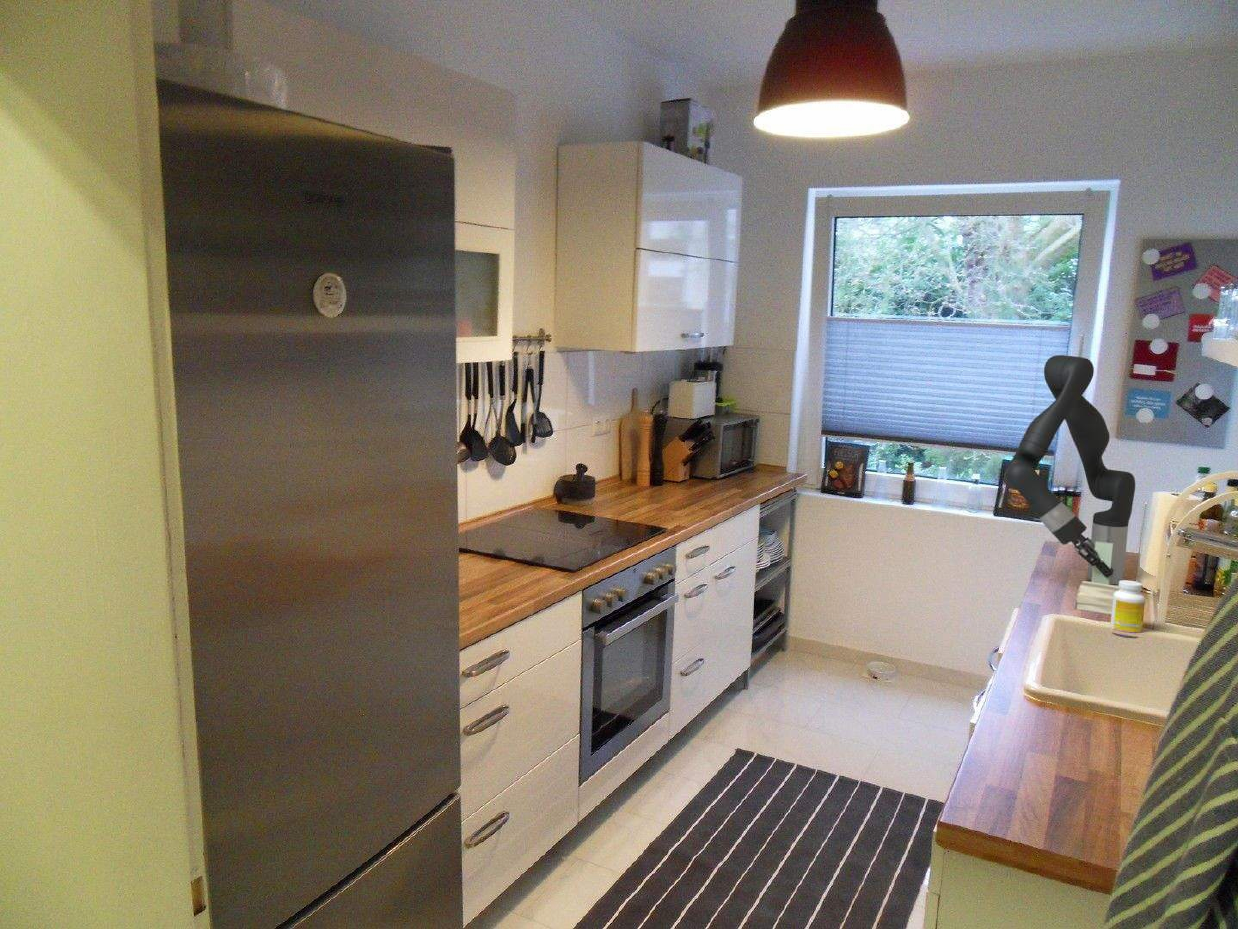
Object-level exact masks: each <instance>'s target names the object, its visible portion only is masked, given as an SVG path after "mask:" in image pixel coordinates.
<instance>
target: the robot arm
mask: <svg viewBox="0 0 1238 929" xmlns="http://www.w3.org/2000/svg"><path fill="white" fill-rule="evenodd" d="M1094 372H1095V368H1094V364H1093V362H1092V361H1091V360H1090V359H1089V358H1086V357H1082V356H1081V357H1080V356H1073V355H1065V354H1061V355H1058V354H1057V355H1053V356H1051V357H1049V358H1048V359H1047V360H1046V362H1045V365H1044V369H1043V376H1044V380H1045V383H1046V385H1047V386H1048V389H1049V390H1050V392H1051V394H1052V396H1053V397H1054V399H1055V400H1054V401H1053V402H1052V403H1051V404H1050V405H1049V406H1048V407H1047V408H1045V409H1044V410H1043V411H1042V412H1041V413H1040V414H1038V415H1037V416H1036V417H1034V419H1033V420H1032V421H1031V422H1030V423H1029V425H1028V427H1027V428H1026V429H1025V430H1026V431H1025V432H1024V435H1023V436H1022V438H1021V440H1020V442H1019V445H1018V448H1017V450H1016V452H1015V454H1014V455H1013V457H1012V459H1011V460H1010V462H1009V463H1008V465H1007V468H1006V469H1005V471H1004V475H1003V480H1004V484H1005V485H1006V486H1007V487H1008V488H1009V489H1011V490H1014V491H1017V492H1018V493H1019V494H1020V495H1021V496H1022V497H1023V498H1024V500H1025V501H1026V504H1027V506H1028V507H1029V509H1030V510H1031V511H1032V512H1034V514H1035V515H1036V516H1037V517H1038V519H1039V520H1040V521H1041V522H1042V524H1043V525H1044V526H1045V528H1047V529H1048V531H1049V532H1050V533H1051V534H1052V535H1053V536H1054V538H1056V539H1057V540H1058V542H1060V544H1062V545H1063V546H1064V545H1065V546H1066V545H1067V544H1069V543H1072V545H1073V546H1074V547H1073V548H1074V550H1075V551H1076V552H1077V553H1078V555H1079V556H1080V557H1081V558H1083V559H1084V560H1085V561H1086V562H1087V563H1088V568H1087V570H1088V571H1087V577H1086V579H1087V580H1089V581H1090V582H1092V572H1093V566H1095V567H1097V568H1098V570H1099V571H1100V572H1101V573H1102V574H1103V575H1104V576H1105V577H1109V576H1110V580H1109V585H1118V580H1124V572H1125V562H1126V554H1127V542H1128V535H1129V534H1128V532H1129V524H1130V519H1131V515H1132V512H1133V504H1134V500H1135V499H1134V498H1135V493H1136V492H1135V491H1136V479H1135V478H1136V477H1135V476H1134V475H1133V473H1131V472H1130V471H1124V470H1115V469H1109V468H1107V467H1106V465H1105V463H1104V462H1103V455H1104V453H1105V452H1106V450H1107V448H1108V445H1109V442H1110V437H1111V436H1110V431H1109V429H1108V427H1107V424H1106V421H1105V419H1104V417H1103V415H1102V413H1101V412H1100V411H1099V410H1098V409H1097V408H1096V407H1095V406H1094V405H1093V404H1092V403H1091V402H1090V401H1089V400H1088V399H1086V398H1085V397H1084V393H1085V392H1086V390H1087V389H1088V387H1089V386H1090V384H1091V381H1092V379H1093V377H1094ZM1064 421H1065V422H1066V425H1067V427H1068V431H1069V433H1070V436H1071V438H1072V440H1073V443H1074V445H1075V447H1076V450H1077V452H1078V455H1079V457H1080V461H1081V463H1082V467H1083V471H1084V474H1085V478H1086V482H1087V485H1088V489H1089V492H1090V493H1091V495H1092V496H1093V498H1095V499H1099V500H1101V501H1106V502H1111V506H1110V508H1109V509H1107V510H1103V511H1097V512H1095V513H1094V514H1093V515H1092V523H1091V524H1092V525H1091V536H1090V537H1091V538H1089V537H1088V536H1087V537H1085V536H1084V535H1083V533H1084V532H1085V531H1086V530H1087V525H1085V524H1084V523H1083V521H1081V520H1080V518H1079V517H1078V516H1077V515H1076V514H1075V513H1074V512H1073V511H1072V510H1071V509H1070V508H1069V507H1068V506H1067V505H1066V504H1065V503H1063V502H1062V501H1061V500H1060V499H1059V497H1057V495H1056V494H1055V493H1054V492H1053V491H1052V490H1051V489H1049V487H1048V486H1047V485H1046V483H1045V482H1044V480H1043V479H1042V477H1041V476H1040V475H1039V474H1038V472H1037V471H1036V470H1037V469H1038V466H1039V464H1040V462H1041V460H1043V458H1044V457H1045V456H1046V453H1048V450H1049V447H1050V446H1051V444H1052V442H1053V440H1054V438H1055V436H1056V434H1057V432H1058V430H1059V429H1060V427H1061V425H1062V424H1063V422H1064ZM1095 542H1104V543H1113V549H1112V560H1111V569H1110V568H1109V567H1108V566H1107V565H1106V564H1105V563H1104V562H1103V560H1102V559H1101V558H1100V557H1099V556H1098V552H1097V551H1096V550H1095ZM1094 558H1095V560H1094Z"/></svg>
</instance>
